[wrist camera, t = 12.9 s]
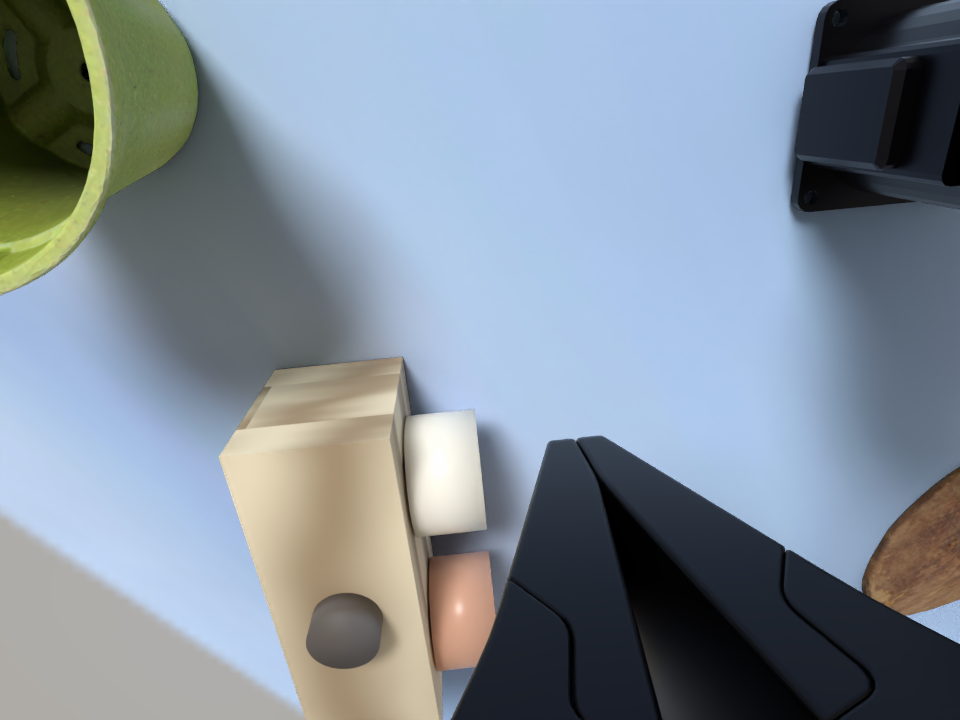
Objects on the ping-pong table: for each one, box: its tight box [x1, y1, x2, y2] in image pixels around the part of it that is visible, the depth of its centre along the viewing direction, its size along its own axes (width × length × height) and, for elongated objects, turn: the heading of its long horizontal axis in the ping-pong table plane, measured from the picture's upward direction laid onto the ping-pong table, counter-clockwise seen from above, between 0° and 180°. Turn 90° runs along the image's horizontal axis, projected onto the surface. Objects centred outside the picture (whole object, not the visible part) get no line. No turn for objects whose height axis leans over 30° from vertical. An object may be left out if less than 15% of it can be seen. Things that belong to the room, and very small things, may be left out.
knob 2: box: [428, 550, 496, 671], centre depth 23 cm, size 7×4×4 cm, turn 95°
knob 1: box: [402, 409, 487, 537], centre depth 20 cm, size 7×4×4 cm, turn 95°
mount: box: [219, 357, 442, 720], centre depth 21 cm, size 5×14×7 cm, turn 5°
